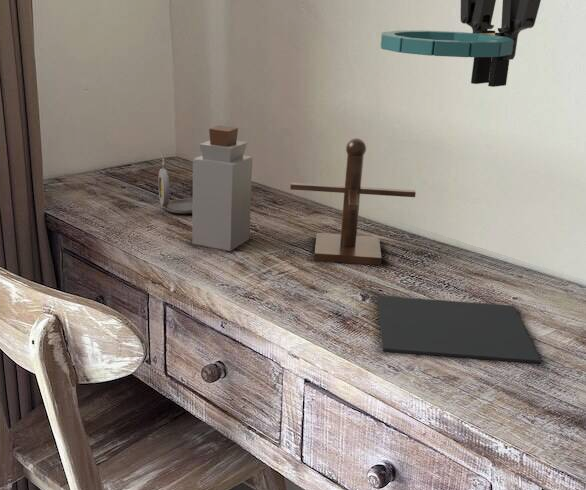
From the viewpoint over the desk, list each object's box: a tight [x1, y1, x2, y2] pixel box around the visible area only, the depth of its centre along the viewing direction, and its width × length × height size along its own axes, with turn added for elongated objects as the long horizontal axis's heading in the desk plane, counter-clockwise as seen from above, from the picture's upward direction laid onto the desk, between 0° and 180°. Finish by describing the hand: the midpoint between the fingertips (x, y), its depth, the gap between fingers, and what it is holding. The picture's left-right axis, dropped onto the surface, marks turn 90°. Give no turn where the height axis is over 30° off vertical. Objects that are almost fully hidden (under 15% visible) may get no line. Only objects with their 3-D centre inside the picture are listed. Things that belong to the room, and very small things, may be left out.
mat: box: [377, 295, 541, 364], centre depth 102 cm, size 18×16×1 cm
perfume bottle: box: [191, 125, 253, 252], centre depth 126 cm, size 7×7×18 cm
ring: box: [379, 29, 514, 58], centre depth 98 cm, size 17×17×2 cm
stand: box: [289, 137, 417, 266], centre depth 124 cm, size 19×19×18 cm
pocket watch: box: [157, 154, 193, 215], centre depth 142 cm, size 8×8×10 cm
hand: (488, 83), depth 105 cm, fingers closed on ring, 2 cm apart
